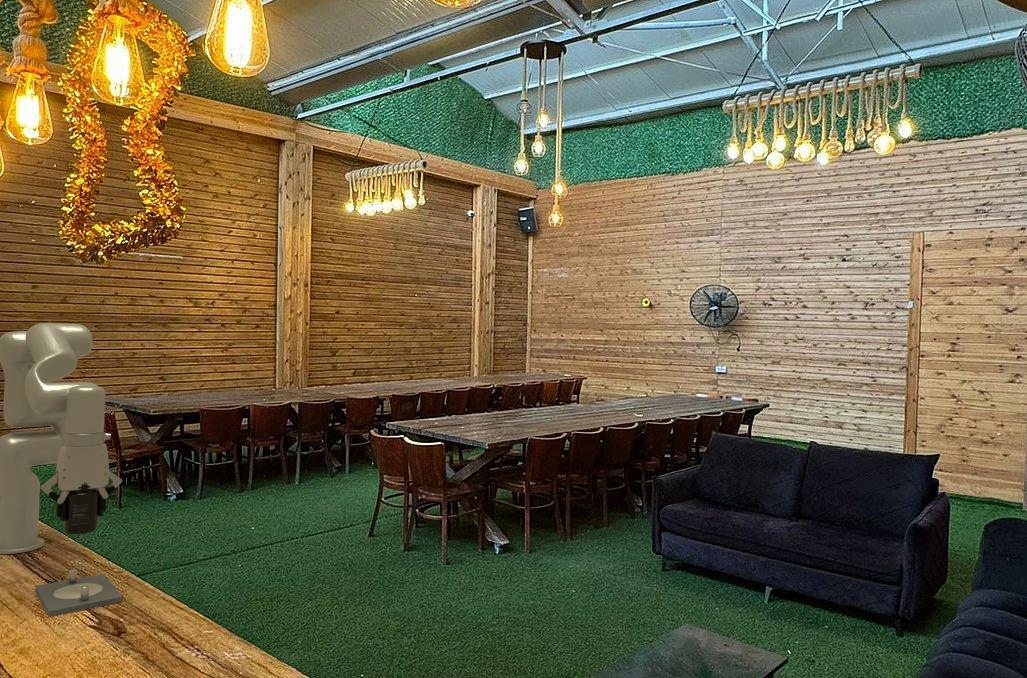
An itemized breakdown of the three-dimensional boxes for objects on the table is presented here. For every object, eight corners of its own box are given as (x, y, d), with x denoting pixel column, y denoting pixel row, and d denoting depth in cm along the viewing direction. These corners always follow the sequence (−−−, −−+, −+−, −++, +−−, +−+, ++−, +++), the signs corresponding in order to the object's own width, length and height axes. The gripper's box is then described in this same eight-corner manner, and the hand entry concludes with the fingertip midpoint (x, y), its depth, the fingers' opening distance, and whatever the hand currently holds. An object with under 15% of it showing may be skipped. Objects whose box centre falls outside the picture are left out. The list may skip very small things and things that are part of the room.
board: (35, 590, 163) (35, 572, 163) (103, 578, 172) (104, 561, 172) (48, 616, 150) (49, 597, 150) (122, 602, 159) (122, 583, 159)
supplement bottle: (104, 527, 164) (107, 476, 164) (84, 536, 157) (86, 482, 157) (77, 525, 165) (79, 474, 164) (55, 533, 158) (57, 480, 158)
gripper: (122, 435, 169) (119, 508, 169) (36, 440, 158) (33, 519, 158) (130, 439, 164) (127, 515, 164) (42, 445, 152) (38, 527, 152)
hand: (81, 516), depth 161 cm, fingers closed on supplement bottle, 6 cm apart
